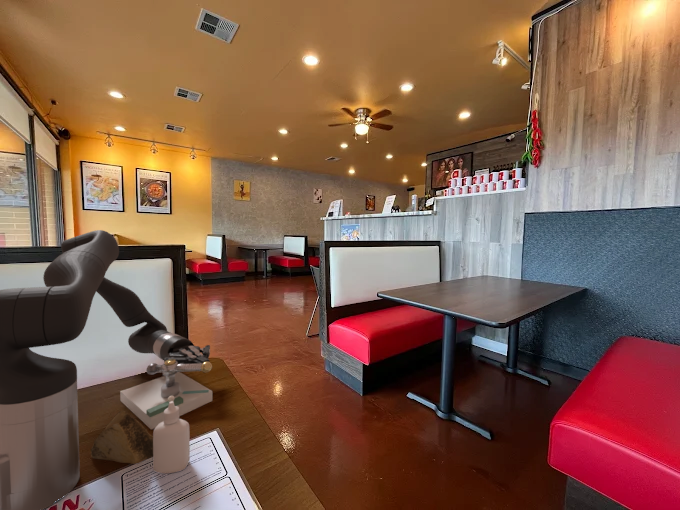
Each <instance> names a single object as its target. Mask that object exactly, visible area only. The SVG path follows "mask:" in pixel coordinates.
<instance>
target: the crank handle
mask: <svg viewBox="0 0 680 510" xmlns="http://www.w3.org/2000/svg"><path fill="white" fill-rule="evenodd" d="M212 369H213V365H212V363H211V362H210V361H209V362H204V363H198V364H178V362H177V361H176V360H175V359H170V360H166V361H165V362H164V361H163V364H157V363H154V362H153V363H151V364H149V365H147V366H146V373H147V374H148V375H149V376H150V375H155V374H158V373H159V374H160V373H162V377H163V376H166V387H171V386H173V385H175V374H176V373H177V372H181V373H182V372H184V373H185V372H201V373H209V372H210V371H212Z"/></svg>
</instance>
